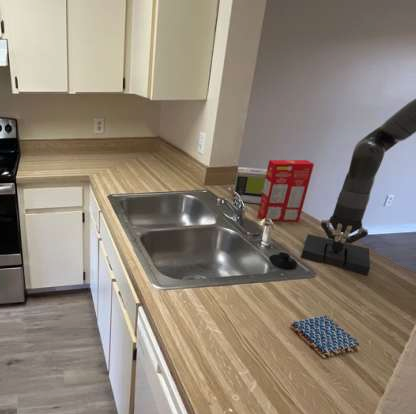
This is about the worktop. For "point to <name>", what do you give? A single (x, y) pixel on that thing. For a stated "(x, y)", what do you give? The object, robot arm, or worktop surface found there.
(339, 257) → the plug pad
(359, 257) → the socket pad
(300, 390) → the worktop surface
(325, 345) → the woven mat
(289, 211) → the food packaging
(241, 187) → the tea box
